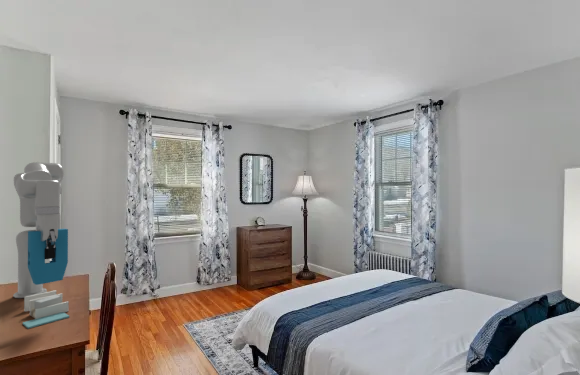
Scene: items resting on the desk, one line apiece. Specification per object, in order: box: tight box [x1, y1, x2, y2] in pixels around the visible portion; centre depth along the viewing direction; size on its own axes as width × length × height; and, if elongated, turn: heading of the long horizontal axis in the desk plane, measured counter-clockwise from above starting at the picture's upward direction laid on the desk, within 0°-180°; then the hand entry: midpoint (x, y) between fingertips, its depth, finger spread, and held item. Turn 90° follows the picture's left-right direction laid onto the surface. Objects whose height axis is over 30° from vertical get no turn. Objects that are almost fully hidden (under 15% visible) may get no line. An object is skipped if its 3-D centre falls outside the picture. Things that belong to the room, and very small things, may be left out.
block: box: [28, 228, 69, 285], centre depth 122 cm, size 12×5×20 cm, turn 143°
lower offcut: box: [31, 301, 63, 319], centre depth 129 cm, size 4×10×4 cm, turn 146°
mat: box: [22, 312, 70, 329], centre depth 121 cm, size 7×13×1 cm, turn 143°
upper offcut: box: [34, 294, 63, 309], centre depth 129 cm, size 4×8×3 cm, turn 160°
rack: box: [23, 289, 70, 319], centre depth 131 cm, size 16×11×6 cm
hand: (47, 257), depth 122 cm, fingers closed on block, 5 cm apart
